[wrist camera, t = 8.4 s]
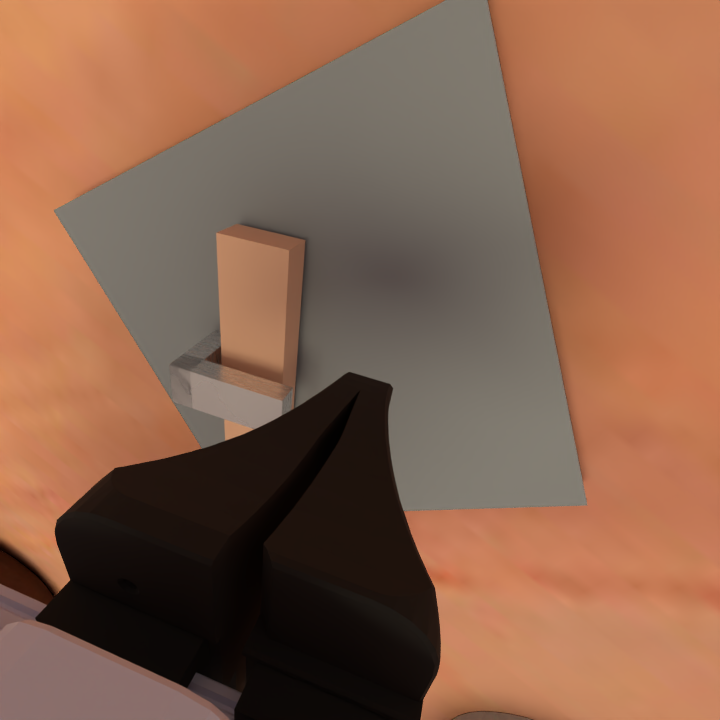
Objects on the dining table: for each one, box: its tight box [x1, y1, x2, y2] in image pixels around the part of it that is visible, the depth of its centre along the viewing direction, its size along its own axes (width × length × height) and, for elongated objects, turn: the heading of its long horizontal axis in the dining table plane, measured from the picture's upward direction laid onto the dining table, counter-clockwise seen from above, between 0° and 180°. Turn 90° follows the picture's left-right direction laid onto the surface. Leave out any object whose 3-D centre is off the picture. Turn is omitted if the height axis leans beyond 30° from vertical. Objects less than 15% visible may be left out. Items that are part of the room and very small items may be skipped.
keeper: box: [169, 329, 293, 429], centre depth 20 cm, size 2×5×4 cm, turn 82°
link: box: [216, 224, 305, 441], centre depth 20 cm, size 15×4×4 cm, turn 172°
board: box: [54, 0, 587, 511], centre depth 21 cm, size 20×20×2 cm
